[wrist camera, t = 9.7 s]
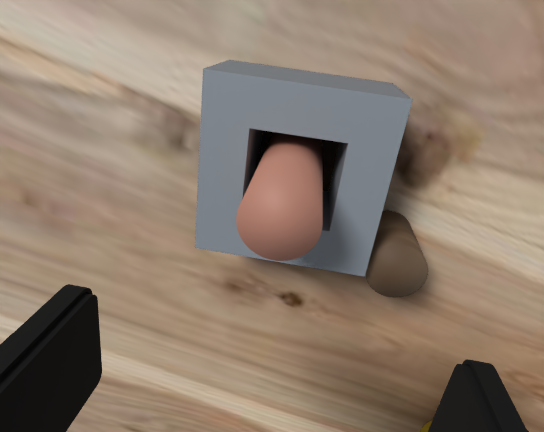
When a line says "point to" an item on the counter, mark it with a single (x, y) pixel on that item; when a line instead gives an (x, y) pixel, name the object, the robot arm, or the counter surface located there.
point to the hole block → (308, 123)
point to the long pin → (284, 199)
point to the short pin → (396, 258)
